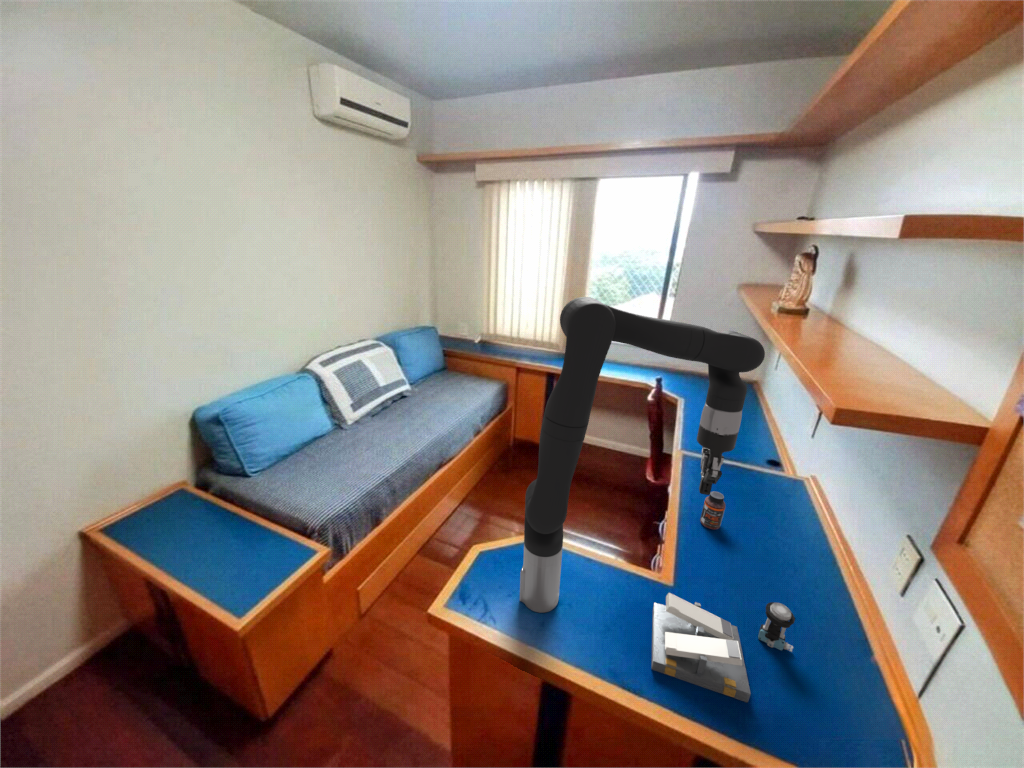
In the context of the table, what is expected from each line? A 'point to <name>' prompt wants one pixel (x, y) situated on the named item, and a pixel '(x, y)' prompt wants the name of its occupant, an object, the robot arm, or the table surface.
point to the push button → (776, 626)
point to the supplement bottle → (713, 510)
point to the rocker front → (703, 648)
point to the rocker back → (699, 617)
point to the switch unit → (696, 670)
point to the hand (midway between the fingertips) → (704, 492)
